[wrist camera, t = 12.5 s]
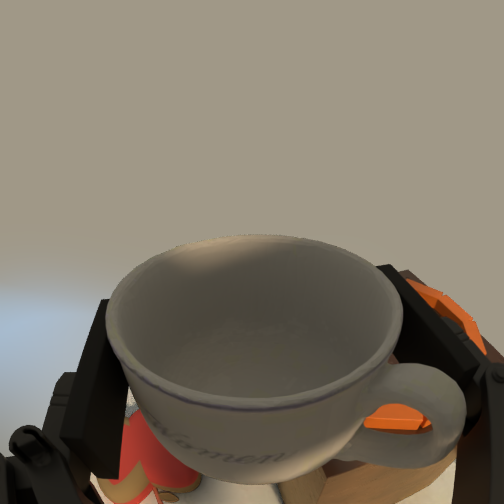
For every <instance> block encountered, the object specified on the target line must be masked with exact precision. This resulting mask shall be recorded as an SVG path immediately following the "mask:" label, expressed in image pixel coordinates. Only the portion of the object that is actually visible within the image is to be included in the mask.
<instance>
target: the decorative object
mask: <svg viewBox="0 0 504 504" xmlns="http://www.w3.org/2000/svg"><path fill="white" fill-rule="evenodd" d="M96 478H97V477H96ZM97 481H98V484H99V486H100V488H101V490H102V492H103V493H104V494H105V496H106V497H107V498H108V499H109V500H111V501H112V502H113V503H114V504H139V503H140V502H141V501H143V500H144V499H145V498H146V497H147V496H148V494H149V493H150V492H151V491H152V490H153V491H154V494H155V496H156V499H157V502H158V504H163V502H162V500H163V501H165V502H176V501H179V499H178V498H177V497H176V496H175V495H174V494H171V493H168V492H162V493H159V492H158V489H161V490H165V491H169V492H175V493H186V492H190V491H193V490H195V489H196V488H197V487H198V486H199V484H200V482H201V473H200V472H197V471H196V470H194V469H192V468H190V467H188V466H186V465H185V464H183V463H182V462H181V461H180V460H178V459H177V458H176V457H174V456H173V455H172V454H171V453H170V452H169V451H168V450H167V449H166V448H165V447H164V446H163V445H162V444H161V443H160V442H159V440H158V439H157V438H156V436H155V435H154V434H153V432H152V431H151V429H150V428H149V426H148V424H147V422H146V421H145V419H144V417H143V415H142V413H141V411H140V409H139V410H137V411H136V412H134V413H133V414H132V415H131V416H130V418H128V417H125V418H124V427H123V436H122V446H121V457H120V469H119V480H114V479H100V478H97ZM157 488H158V489H157Z"/></svg>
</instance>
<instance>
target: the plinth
mask: <svg viewBox="0 0 504 504" xmlns="http://www.w3.org/2000/svg"><path fill="white" fill-rule="evenodd" d="M398 273H399V274H400V275H401V276H402V277H403V278H404V279H405V280H406V279H410V280H413V281H415V282H418V283H420V284H423V285H425V284H424V283H423V282H422V281H421V280H419V278H417V277H416V276H415V275H414V274H413V273H411V272H410V271H409V270H404V271H400V272H398ZM425 286H427V285H425ZM433 310H434V311H435V312H436V313H437V314H438V315H439V316H440V317H441V318H442V317H443V316H442V315H441V314H440V313H439V312H438V311H436V310H435V309H434V308H433ZM481 338H482V341H483V344H484V347H485V350H486V355H485V356H486V357H487V358H488V359H489V360H490V361H491V362H492V363H494V362H499V363H503V364H504V357H503V356H502V355H501V354H500V353H499V352H498V351H497V350H496V349H495V348H494V347H493V346H492V345H491V344H490V343H489V342H488V341H487V340H486V339H485V338H484V337H483V336H481ZM388 363H389V364H391V365H394V364H399V362H398V361H397V359H396V358H395V356H394V355H393V353H392V354H391V355H390V357H389V359H388ZM369 429H372V430H376V431H380V432H386V433H392V434H404V435H413V434H422V433H426V432H429V431H432V430H433V428H432V424H430V425H428V426H426V427H424V428H422V427H421V425H420V426H419V427H418V429H417V430H402V429H380V428H369ZM456 457H457V444H456V446H455V447H454V449H453V450H452V451H451V452H450V453H449V454H448V455H447V456H446V457H445V458H444V459H442V460H441V461H439V462H437V463H435V464H433V465H430V466H428V467H423V468H417V469H398V468H390V467H385V466H379V465H374V464H369V463H366V462H362V461H358V460H354V461H342V460H339V459H331V460H330V461H329V462H327V463H326V464H324V465H323V466H321V467H319V468H317V469H316V470H314V471H312V472H310V473H308V474H306V475H303V476H301V477H298V478H295V479H292V480H288V481H284V482H279V483H277V485H278V488H279V491H280V494H281V496H282V499H283V502H284V504H395V503H397V502H399V501H401V500H403V499H405V498H407V497H409V496H411V495H413V494H415V493H416V492H418V491H420V490H422V489H424V488H425V487H427V486H429V485H430V484H431V483H433V482H434V481H435V480H436V479H437V478H438V477H439V476H440V475H441V474H442V473H443V472H444V471H445V470H446V468H447V467H448V466H449V465H450V464H451V463H452V462H453V461H454V460H455V459H456Z"/></svg>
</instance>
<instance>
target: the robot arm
mask: <svg viewBox="0 0 504 504" xmlns="http://www.w3.org/2000/svg"><path fill="white" fill-rule="evenodd" d="M376 268H377V269H379V270H380V271H382V272H383V274H384V275H385V276H386V277H387V278H388V279H389V280H390V281H391V282H392V284H393V285H394V286H395V288H396V290H397V292H398V294H399V296H400V299H401V302H402V306H403V323H402V328H401V332H400V335H399V339H398V341H397V344H396V346H395V348H394V350H393V352H392V353H393V355H394V356H395V358H396V359H397V361H398V362H399V364H401V363H418V364H422V365H426V366H430V367H434V368H437V369H438V370H440V371H442V372H444V373H445V374H446V375H448V376H449V377H450V378H452V379H453V380H454V381H455V382H456V383H457V384H458V386H459V387H460V389H461V391H462V392H463V395H464V398H465V402H466V411H467V415H466V420H465V425H464V428H463V431H462V434H461V437H460V439H459V441H458V442H457V457H456V470H455V480H454V489H453V497H452V504H504V364H503V363H499V362H494V363H492V362H491V361H490V360H489V359H488V358H487V357H486V356H485V354H484V353H483V352H482V351H481V350H480V349H479V347H478V346H477V345H476V344H475V343H474V342H473V341H472V339H470V337H469V336H468V335H467V334H466V333H464V330H463V329H462V328H461V327H460V326H459V325H458V324H457V323H456V322H455V321H453V320H451V319H450V318H448V317H446V316H445V317H442V318H441V317H440V316H439V315H438V314H437V313H436V312H435V311H434V310H433V308H432V307H431V306H430V305H429V304H428V303H427V302H426V301H425V300H424V299H423V298H422V297H421V295H420V294H419V293H418V292H417V291H416V290H415V289H414V288H413V287H412V286H411V285H410V284H409V283H408V282H407V281H406V280H405V279H404V278H403V277H402V276H401V275H400V274H399V273H398V272H397V270H396V269H395V268H393V266H392V265H390V264H387V265H381V266H376ZM109 300H110V299H103V300H101V302H100V304H99V307H98V310H97V312H96V315H95V318H94V321H93V324H92V326H91V329H90V332H89V335H88V338H87V341H86V344H85V346H84V350H83V352H82V356H81V359H80V362H79V366H78V368H77V372H64V373H63V375H62V376H61V377H60V379H59V380H58V381H57V383H56V385H55V388H54V391H53V396H52V398H51V401H50V406H49V407H48V411H47V414H46V417H45V421H44V424H43V428H42V431H41V430H40V429H39V428H37V427H36V426H32V425H26V426H22V427H20V428H18V429H17V430H15V432H14V433H13V434H12V436H11V438H10V441H9V450H10V452H11V453H13V454H14V455H15V456H12V457H4V456H3V455H2V454H1V453H0V504H104V502H103V501H102V499H101V497H100V495H99V494H98V492H97V490H96V488H95V487H94V485H93V484H92V483H91V481H90V476H91V472H92V473H93V474H94V475H95V476H96V477H97V478H100V479H114V480H119V469H120V457H121V446H122V436H123V427H124V418H125V410H126V403H127V395H128V388H129V384H128V382H127V379H126V377H125V374H124V371H123V368H122V365H121V362H120V360H119V359H118V358H117V356H116V355H115V353H114V351H113V349H112V347H111V344H110V342H109V340H108V337H107V330H106V320H105V316H106V310H107V305H108V302H109Z"/></svg>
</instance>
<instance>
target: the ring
mask: <svg viewBox="0 0 504 504" xmlns="http://www.w3.org/2000/svg"><path fill="white" fill-rule="evenodd" d="M406 281H407V282H408V283H409V284H410V285H411V286H412V287H413V288H414V289H415V290H416V291H417V292H418V293H419V294H420V295H421V297H422V298H423V299H424V300H425V301H426V302H427V303H428V304H429V305H430V306H431V307H432V308H434V309H435V310H436V311H438V312H439V313H440V314H441V315H442V316H443V317H445V316H446V317H448V318H450V319H451V320H453V321H455V322H456V323H457V324H458V325H459V326H460V327H461V328H462V329H463V330H464V333H466V334H467V335H468V336H469V337H470V339H472V341H473V342H474V343H475V344H476V345H477V346H478V347H479V349H480V350H481V351H482V352H483V353H484V354H485V355H486V350H485V347H484V344H483V341H482V338H481V335H480V333H479V330H478V327H477V325H476V322H475V321H472V320H473V318H472V317H471V316H470V315H469V314H468V313H466V312H465V311H464V310H463V309H462V308H461V307H460V306H459V305H457V304H456V303H455V302H454V301H453V300H452V299H451V298H450V297H448V296H447V295H444V296H442V294H443V292H440V291H438V290H435V289H433V288H430V287H428V286H425V285H423V284H420V283H418V282H415V281H413V280H410V279H406ZM430 424H431V423H430V421H429V420H428V419H427V417H425V416H424V415H423V414H421V413H420V412H419V411H417V410H415V409H413V408H410V407H408V406H406V405H403V404H386V405H383V406H381V407H379V408H378V409H377V411H376V412H375V413H373V414H372V415H370V416H369V417H366V419H365V421H364V426H365V427H366V428H380V429H402V430H417V429H418V427H419V426H420V425H421V427H422V428H424V427H426V426H428V425H430Z"/></svg>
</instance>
